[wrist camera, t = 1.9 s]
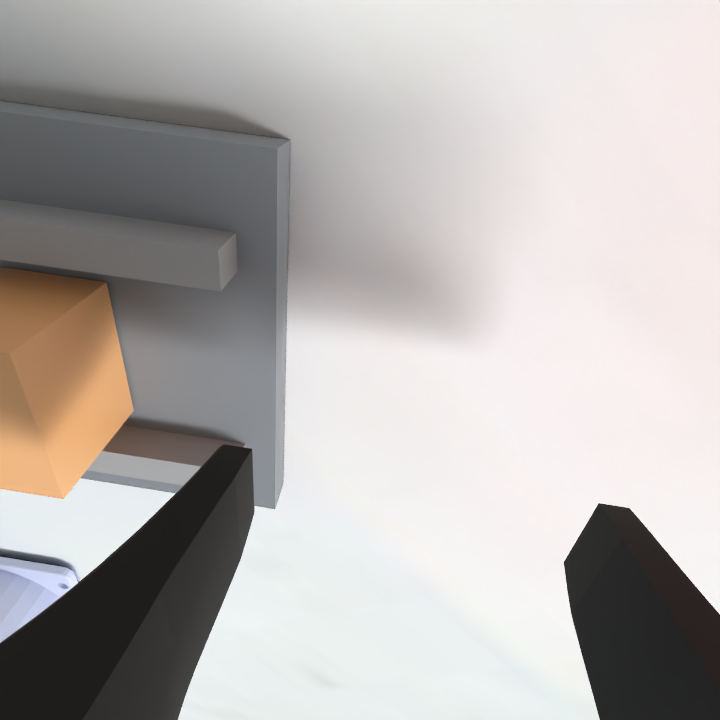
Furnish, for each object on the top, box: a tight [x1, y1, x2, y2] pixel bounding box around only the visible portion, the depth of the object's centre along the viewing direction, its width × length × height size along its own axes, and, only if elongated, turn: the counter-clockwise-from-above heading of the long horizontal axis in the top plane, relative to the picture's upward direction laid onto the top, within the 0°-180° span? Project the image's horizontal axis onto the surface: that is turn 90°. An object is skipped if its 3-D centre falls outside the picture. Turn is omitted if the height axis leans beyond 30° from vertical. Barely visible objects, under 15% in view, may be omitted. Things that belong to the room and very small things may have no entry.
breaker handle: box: [0, 267, 134, 499], centre depth 12 cm, size 4×3×4 cm
